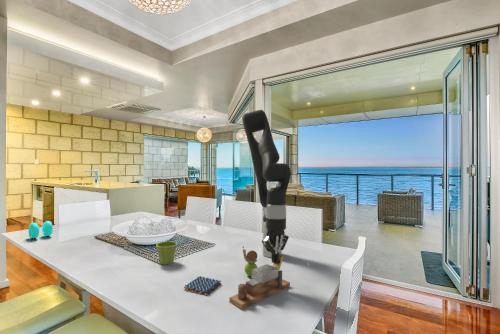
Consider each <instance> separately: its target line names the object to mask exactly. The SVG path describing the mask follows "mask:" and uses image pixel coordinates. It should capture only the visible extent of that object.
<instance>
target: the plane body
mask: <svg viewBox="0 0 500 334" xmlns="http://www.w3.org/2000/svg"><path fill="white" fill-rule="evenodd" d="M237 287H238V288H237V289H238V290H237V292H238V293H237V294H234V295H232V296H230V297H229V300H228V301H229V303H230V304H232V305H233V306H235V307H236V308H237V309H240V310H243V309H246V308H247V307H249V306H253V305H254V304H257V303H258V302H260V301H263V300H265V299H267V298H269V297H271V296H273V295H275V294H277V293H280V292H282V291H284V290H286V289H288V288H290V287H291V283H290V281H288V280H285V279H283V270H282V269H280V270H279V274H278V277H277V278H274V279H272V280H269V281H267V282H265V283H261V282H259V281H257V280H254V279H252V278H251V279H250V280H247V281H245V283H240V284H238V286H237Z"/></svg>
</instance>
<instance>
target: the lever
mask: <svg viewBox="0 0 500 334" xmlns="http://www.w3.org/2000/svg"><path fill="white" fill-rule="evenodd" d="M283 259H284V256H282V255H279V263H277V264H274V263H273V265H272V266H273V267H276V268H278V274H279V271H280V270H281V266H282V263H283Z"/></svg>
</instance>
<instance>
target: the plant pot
mask: <svg viewBox="0 0 500 334" xmlns="http://www.w3.org/2000/svg"><path fill="white" fill-rule="evenodd" d="M177 245H178V242H177V241H173V240H172V241H170V240H169V241H161V242H159V243H158V242H157V243H156V245H155V246H156V249H157V252H158V258H159V259H158V260H159V265H163V266H164V265H171V264H173V263H174V261H175V254H176V248H177Z"/></svg>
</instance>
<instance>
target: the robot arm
mask: <svg viewBox="0 0 500 334" xmlns="http://www.w3.org/2000/svg"><path fill="white" fill-rule="evenodd" d="M241 121H242V124H243V129H244V132H245V136H246V138H247V140H246V141H247V143H248V147H249V151H250V157H251V160H252V162H251V163H252V165H253V170H254V173H255V174H254V175H255V178H256V183H257V189H258V196H259V203H260V204H261V205H260V206H261V207H262V208H265V214H264V215H263V216H262V240H261V243H262V256H264V257H266V258H271V262H272V264H273V265H274V264H277V263H279V255H280V256H282V254H283V253H282V251H284V250H285V247H286V245H287V243H288V241H289V240H288V239H289V238H290V236H289V235H286V234H285V230H286V229H287V206H286V202H287V201H286V199H287V197H286V196H287V191H288V187H289V183H290V180H291V176H292V171H291V168H290V165H288V164H287V163H283V162H282V163H281V162H280V163H278V162H279V161H280V153H279V151H278V149H277V147H276V144H275V142H274V138H273V134H272V131H271V130H272V129H271V126H270V123H269V119H268V116H267V114H266V112H265V111H264V109H258V110H254V111H249V112H246V113H243V114H242V117H241ZM260 131H262V135H261V138H260V140H259V141H257V139H256V138H255V136H254V134H253V133H256V132H260ZM269 182H271V183H277V185H276V186H275V187H271V188H268V184H267V183H269Z"/></svg>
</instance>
